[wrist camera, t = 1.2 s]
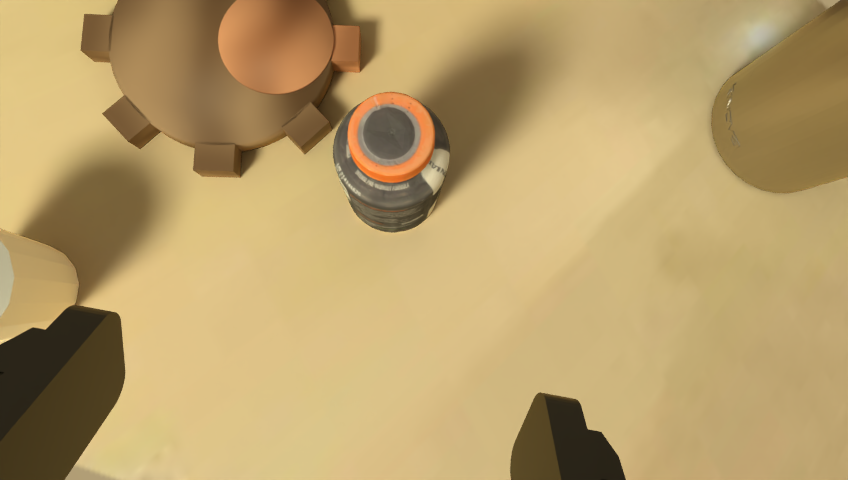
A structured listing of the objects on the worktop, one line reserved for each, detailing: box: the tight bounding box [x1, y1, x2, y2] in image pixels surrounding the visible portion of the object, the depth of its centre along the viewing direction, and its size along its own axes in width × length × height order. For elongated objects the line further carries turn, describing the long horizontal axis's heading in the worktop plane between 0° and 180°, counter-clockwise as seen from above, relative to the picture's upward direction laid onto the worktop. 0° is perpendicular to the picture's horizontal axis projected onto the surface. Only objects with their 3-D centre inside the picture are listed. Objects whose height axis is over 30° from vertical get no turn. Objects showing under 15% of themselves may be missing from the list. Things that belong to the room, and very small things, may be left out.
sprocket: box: [81, 0, 361, 177], centre depth 36 cm, size 17×17×2 cm
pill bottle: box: [333, 92, 450, 232], centre depth 31 cm, size 6×6×11 cm
